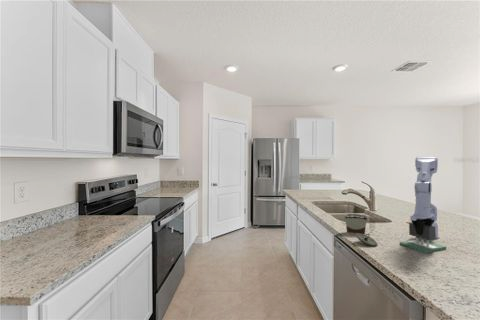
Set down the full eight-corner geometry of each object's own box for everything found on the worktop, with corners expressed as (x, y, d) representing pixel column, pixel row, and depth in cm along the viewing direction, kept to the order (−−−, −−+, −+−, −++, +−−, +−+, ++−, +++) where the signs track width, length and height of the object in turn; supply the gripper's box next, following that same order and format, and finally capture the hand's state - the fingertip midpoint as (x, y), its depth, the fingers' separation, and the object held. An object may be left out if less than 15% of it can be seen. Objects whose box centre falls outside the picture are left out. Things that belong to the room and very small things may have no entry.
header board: (420, 241, 129) (420, 233, 129) (446, 249, 117) (446, 240, 117) (399, 244, 124) (399, 236, 123) (424, 253, 112) (424, 243, 112)
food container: (365, 231, 146) (365, 214, 146) (367, 234, 140) (367, 216, 140) (342, 229, 149) (342, 213, 149) (344, 232, 143) (344, 215, 143)
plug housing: (410, 232, 128) (410, 221, 128) (435, 239, 117) (435, 226, 117) (404, 233, 127) (404, 221, 127) (429, 240, 115) (429, 227, 115)
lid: (358, 238, 132) (358, 229, 132) (379, 242, 126) (379, 233, 126) (353, 244, 124) (353, 234, 124) (375, 248, 118) (375, 238, 118)
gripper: (424, 203, 126) (424, 230, 127) (404, 205, 122) (404, 233, 122) (439, 206, 120) (439, 234, 120) (418, 208, 115) (418, 237, 115)
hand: (422, 233), depth 120 cm, fingers closed on plug housing, 4 cm apart
